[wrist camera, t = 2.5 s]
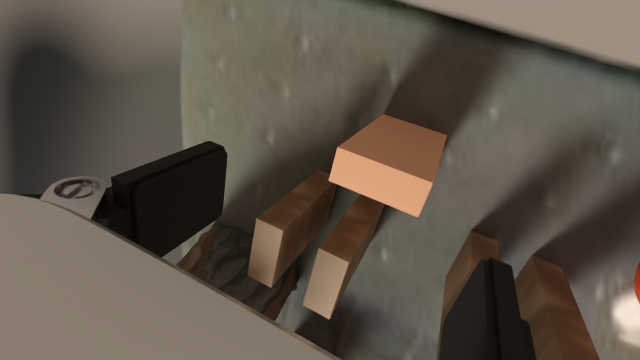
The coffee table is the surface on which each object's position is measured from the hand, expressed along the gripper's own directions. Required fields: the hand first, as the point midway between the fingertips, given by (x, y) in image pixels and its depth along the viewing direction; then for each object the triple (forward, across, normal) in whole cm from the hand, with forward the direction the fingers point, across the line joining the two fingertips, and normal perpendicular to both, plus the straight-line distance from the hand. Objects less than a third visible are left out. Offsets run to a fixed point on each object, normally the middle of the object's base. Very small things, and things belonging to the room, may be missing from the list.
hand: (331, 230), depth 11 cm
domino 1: (+16, +5, +9) cm, 19 cm away
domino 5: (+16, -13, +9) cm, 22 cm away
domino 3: (+16, 0, +1) cm, 16 cm away
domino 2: (+16, +1, +9) cm, 18 cm away
